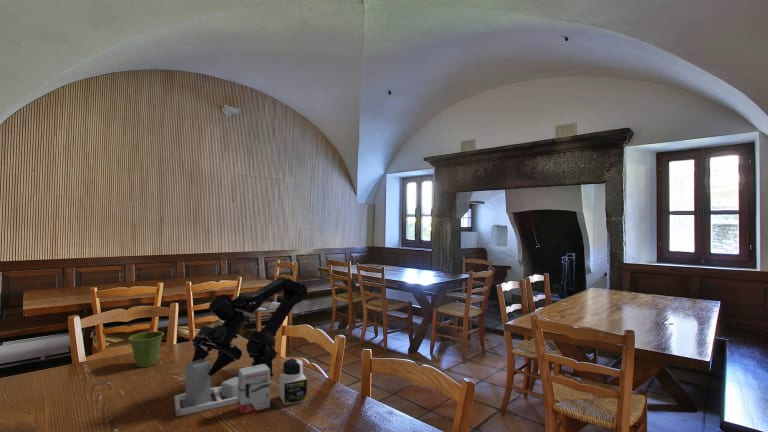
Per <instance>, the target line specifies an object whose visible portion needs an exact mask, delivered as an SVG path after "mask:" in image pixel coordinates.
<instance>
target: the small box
mask: <svg viewBox="0 0 768 432" xmlns="http://www.w3.org/2000/svg"><path fill="white" fill-rule="evenodd" d="M220 393H221V394H220V396H221V399H229V398H233V397H238V376H234V377H231V378H229V379H227V380H225V381H222V382H221V392H220Z"/></svg>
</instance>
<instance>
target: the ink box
mask: <svg viewBox="0 0 768 432" xmlns="http://www.w3.org/2000/svg"><path fill="white" fill-rule="evenodd" d="M237 377H238V403H237V409H238V410H239V411H238V412H240V414H241V415H243V414H248V413H253V412H257V411H259V410H264V409H267V408H270V407H271V376H270V368H269V367H268V366H267V365H266V364H261V365H256V366H247V367H243V368H239V369H238V375H237Z"/></svg>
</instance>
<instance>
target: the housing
mask: <svg viewBox="0 0 768 432" xmlns="http://www.w3.org/2000/svg"><path fill="white" fill-rule="evenodd" d="M220 393H221V386H214V387H210V401H208V402H206V403H204V404H200V405H196V406H191V405H189V404H186V392H184V393H179V394H175V395H174V406H175V407H174V409H175V416H176V418H177V417H180V416H185V415H186V416H187V415H190V414H195V413H199V412H203V411H208V410H213V409H219V408H221V407H226V406H231V405H235V404H238V397H233V398H229V399H225V398H222V397H221V394H220ZM212 395H213V396H212ZM181 401H182V403H181Z"/></svg>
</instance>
